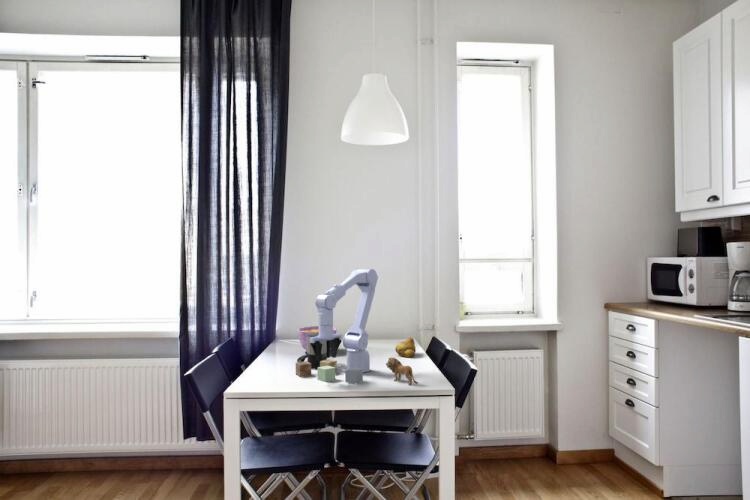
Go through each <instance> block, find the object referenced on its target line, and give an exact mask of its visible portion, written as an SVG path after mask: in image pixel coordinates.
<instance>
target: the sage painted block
mask: <svg viewBox="0 0 750 500" xmlns="http://www.w3.org/2000/svg"><path fill="white" fill-rule="evenodd" d="M317 380H318V381H321V382H324V383H327V382H332V381H335V380H336V373H335V367H331V366H323V367H318V369H317Z"/></svg>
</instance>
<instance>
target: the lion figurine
mask: <svg viewBox="0 0 750 500" xmlns="http://www.w3.org/2000/svg"><path fill="white" fill-rule="evenodd" d="M385 366H386V368H387V369H389V370H391V372H392V373H394V377H395V379H393V381H394V382H398V381H400V380H401V379H402V376H403V375H404V377H405V378H406V379H407V380H408V384H407V385H408V386H412V383H413V382H414V384H416V385H418V384H419V382H418V381H416V380H415V377H414V374H413V368H412V367H411V366H410V365H404V364H402V362H401V361H400V360H399V359H397V358H395V357H394V356H393V357H391V356H390V357H388V360H387V362H386V363H385Z"/></svg>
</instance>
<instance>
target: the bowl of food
mask: <svg viewBox="0 0 750 500" xmlns="http://www.w3.org/2000/svg"><path fill="white" fill-rule="evenodd" d="M337 330H338V328H337V327H334V326H333V334H337ZM312 332H319V325H316V326H303V327H299V328H297V334H298V338H299V341H300V342H299V343H300V345H301V347H302V348H303V350H305V351H307V335H306V334H307V333H312Z"/></svg>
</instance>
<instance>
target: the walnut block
mask: <svg viewBox="0 0 750 500" xmlns="http://www.w3.org/2000/svg"><path fill="white" fill-rule="evenodd" d="M295 375H296V376H297V377H298V378H302V377H303V378H304V377H309V376H310V377H311V376H312V369H311V363H309V362H307V360H305V361H304V362H297V361H296V362H295Z"/></svg>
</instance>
